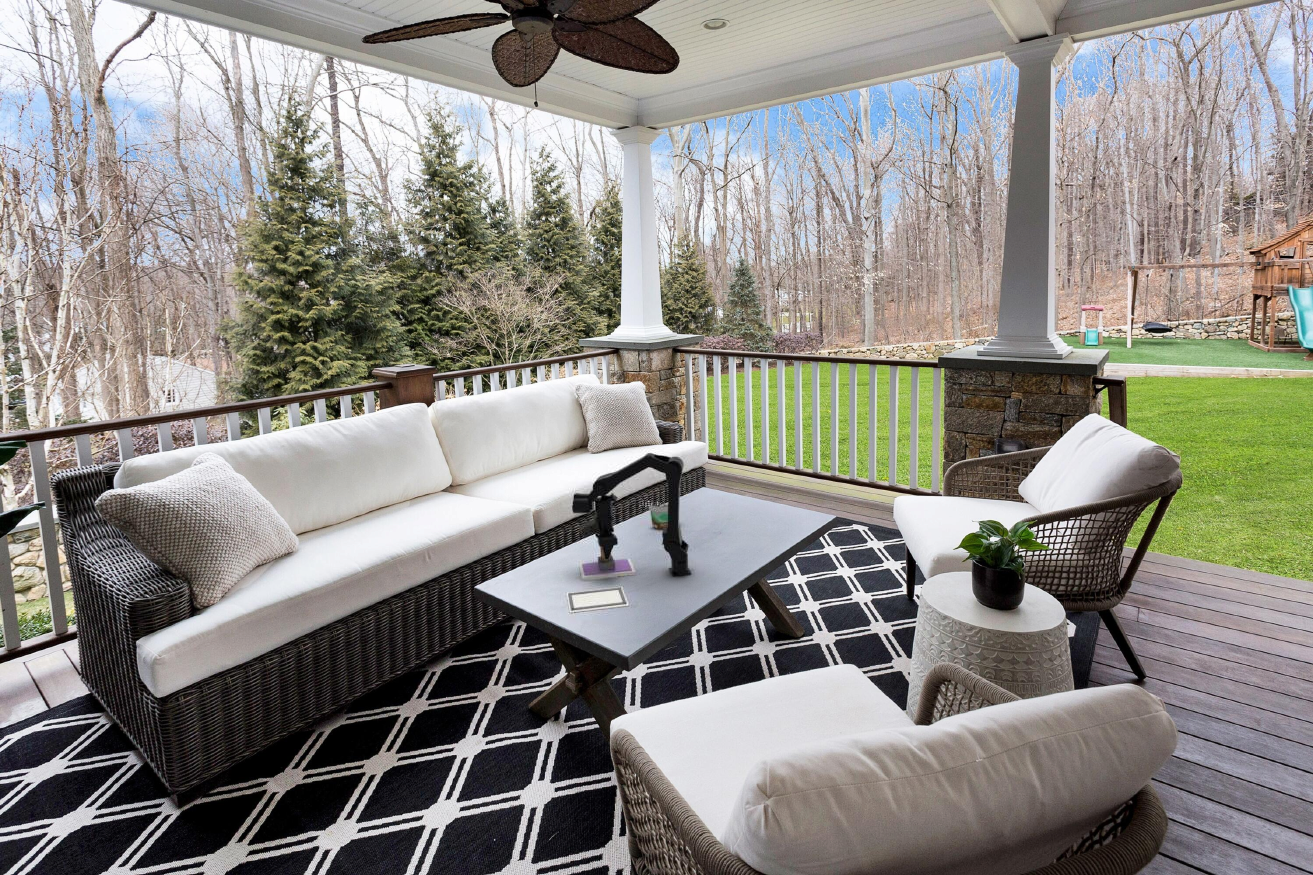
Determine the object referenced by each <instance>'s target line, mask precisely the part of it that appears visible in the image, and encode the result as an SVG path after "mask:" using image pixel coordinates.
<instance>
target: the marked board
mask: <svg viewBox="0 0 1313 875" xmlns="http://www.w3.org/2000/svg"><path fill="white" fill-rule="evenodd" d="M566 598H567V599H566V601H567V600H568V601H567V606H568V611H569V614H574V612H576V613H583V612H582V611H584V612H591V611H592V612H593V611H600V610H607V609H608V610H609V609H615V608H623V607H629V606H630V605H629V602H628V599H627V596H626V594H625V592H624V589H623V586H617V587H609V588H608V587H607V588H599V589H591V590H590V589H589V590H582V591H572V592H566Z"/></svg>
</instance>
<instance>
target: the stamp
mask: <svg viewBox="0 0 1313 875" xmlns="http://www.w3.org/2000/svg"><path fill="white" fill-rule="evenodd" d="M599 550H600V556H597V562H598V565H599V568H600V571H608V570H615V562H614V560H615V559H614V556H613V555H612V553H611V554H610V556H609V559H605V556H604V552H603V548H602V547H600V546H599Z"/></svg>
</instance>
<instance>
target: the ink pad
mask: <svg viewBox="0 0 1313 875" xmlns="http://www.w3.org/2000/svg"><path fill="white" fill-rule="evenodd" d="M614 562H615V570H608V571H600V568H599V565H598V561H595V562H586V563H585V562H583V563H578V567H579V572H580V576H581V581H583V582H584V580H585V581H593V580H601V579H603V580H604V579H609V578H618V576H620V577H628V575H629V576H636V570H635V567H634V565H633V563H632V560H631V559H630V558H624V559H623V558H622V559H614Z"/></svg>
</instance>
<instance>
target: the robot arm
mask: <svg viewBox="0 0 1313 875" xmlns="http://www.w3.org/2000/svg"><path fill="white" fill-rule="evenodd" d="M684 463H685V462H684V461H683V459H682V458H680V457H678V456H672V457H670V456H668V455H661V454H656V453H653V452H648V453H646V454H645V455H643V456H642V457H639V459H637V460H635V461H633V462H631V463H629V464H628V465H625V466H623V467H622V468H620V469H618V470H616V471H614V472H609V473H606V474H603V475H600V476H598V477H597V478H596V480H595V481H594V482H593V483H592V490H590V492H589V493H578V492H576V493H574V495H573V494H572V495H573V496H572V497H573V499H572V505H571V510H572V513H573V514H587V515H588V514H591V513H592V512H593V511H595V514H594V516H593V519H592V520H588V521H586V522H584V523H582V524H580V525H578V528H579V530H580V533H581V536H582V538H587V537H589V536H591V535H592V534H594V535H595V538H597V540H596V542H597V544H598V546H599V548H600V547H602V548H603V552H604V556H605V559H609V556H610V554H611V555H612V550H614V546H617V545H618V544H619V543H618V537H617V535H616V534H614V533H615V529H614V522H613V521H614V515H613V503H614V502H615V503H616V501H617V500H618V498H619V497H618V496H616V494H614V493H613V492H611V491H613V490H614V489H615V488H616V487H618V486H619V485H620V484H621V483H623V482H625V481H626V480H628V479H630V478H632V477H633V476H635V475H637V474H640V473H641V472H643V471H645V470H646V469H648V468H649V469H654V470H656V472H659V473H662V474H665V480H666V483H667V484H666V485H667V504H668V527H667V528H665V527H664V529H663V530H662V533H661V536H662V543H661V545H662V546H663V549H664V550H665V552H667V553H668V555H669V557H670V564H671V565H670V566H671V567H669V568H668V571H669V572H670V574H671V577H679V576H688V575H691V574H692V571H691V570H690V568H689V554H688V550H689V547H690V545H689V544H688V543H687V542H686V541H685V540H684V539H683V535H682V529H681V526H680V500H681V499H680V498H681V497H680V493H681V492H680V491H681V490H680V487H681V481H682V480H681V479H682V476H683V471H684V466H685V464H684ZM610 492H611V494H609V493H610Z"/></svg>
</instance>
